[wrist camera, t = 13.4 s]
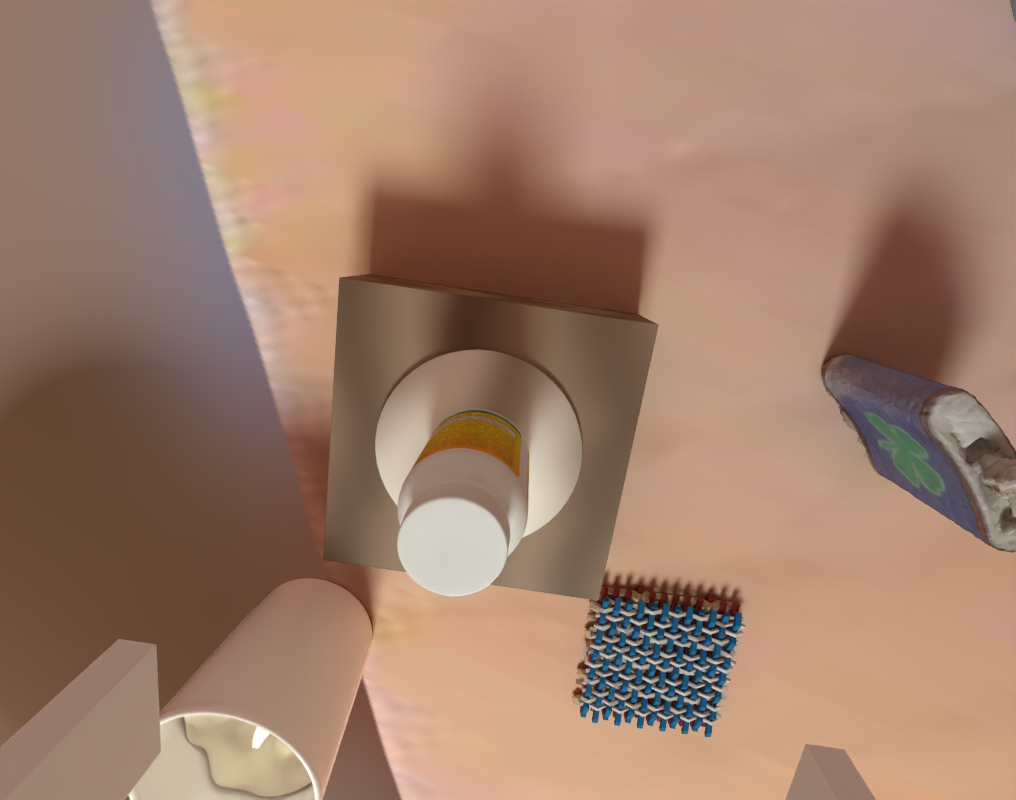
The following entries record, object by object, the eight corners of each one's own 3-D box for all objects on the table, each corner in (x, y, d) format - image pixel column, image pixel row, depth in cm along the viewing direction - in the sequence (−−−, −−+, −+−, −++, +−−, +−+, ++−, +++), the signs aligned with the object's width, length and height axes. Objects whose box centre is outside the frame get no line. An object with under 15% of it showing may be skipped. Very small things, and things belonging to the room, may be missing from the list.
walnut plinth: (638, 314, 31) (659, 325, 26) (588, 553, 35) (598, 603, 30) (368, 274, 31) (337, 277, 26) (351, 518, 35) (321, 562, 30)
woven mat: (743, 592, 36) (755, 611, 34) (710, 717, 39) (719, 741, 37) (592, 574, 36) (595, 592, 34) (569, 699, 39) (571, 722, 37)
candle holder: (301, 703, 39) (207, 889, 28) (219, 604, 37) (81, 760, 26) (410, 650, 38) (358, 823, 26) (331, 543, 36) (236, 679, 24)
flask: (810, 368, 32) (950, 422, 21) (856, 339, 31) (1022, 381, 21) (879, 485, 33) (1039, 588, 23) (923, 460, 33) (1107, 554, 22)
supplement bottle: (543, 482, 28) (549, 590, 19) (451, 512, 29) (414, 632, 20) (507, 390, 27) (495, 459, 18) (412, 424, 28) (352, 508, 18)
